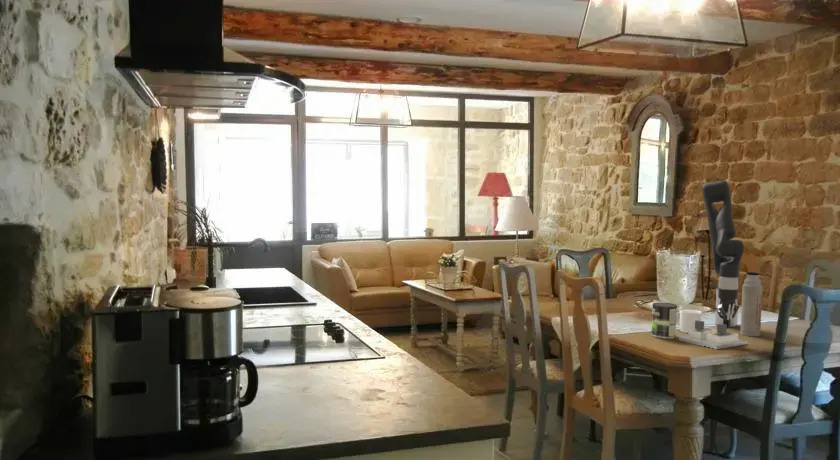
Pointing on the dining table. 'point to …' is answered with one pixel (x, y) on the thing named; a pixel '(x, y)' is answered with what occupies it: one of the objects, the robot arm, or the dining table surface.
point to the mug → (688, 319)
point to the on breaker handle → (699, 325)
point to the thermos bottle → (751, 305)
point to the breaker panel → (710, 344)
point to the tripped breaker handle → (721, 328)
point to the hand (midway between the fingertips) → (726, 328)
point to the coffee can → (664, 320)
